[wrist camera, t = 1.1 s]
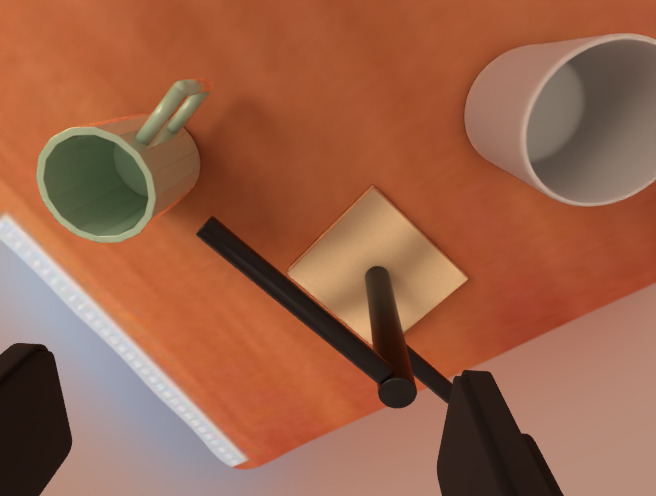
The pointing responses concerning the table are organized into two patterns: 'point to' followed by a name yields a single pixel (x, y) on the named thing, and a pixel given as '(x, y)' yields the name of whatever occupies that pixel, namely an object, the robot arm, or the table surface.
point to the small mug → (123, 168)
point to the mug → (570, 117)
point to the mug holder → (360, 290)
